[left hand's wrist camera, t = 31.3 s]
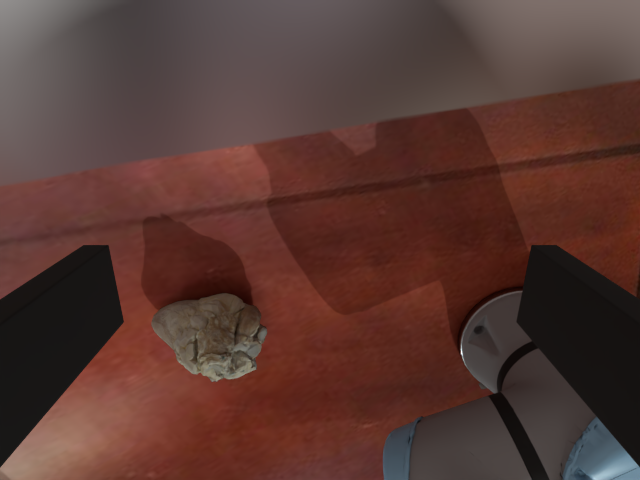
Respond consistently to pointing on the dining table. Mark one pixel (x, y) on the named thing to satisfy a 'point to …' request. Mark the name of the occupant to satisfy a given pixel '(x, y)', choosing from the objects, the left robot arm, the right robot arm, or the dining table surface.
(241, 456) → the dining table surface
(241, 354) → the lumpy boulder
